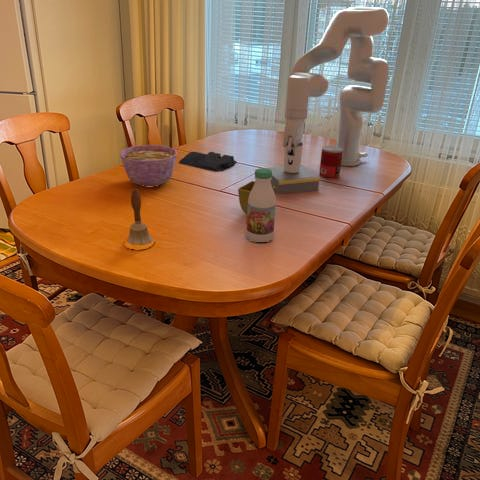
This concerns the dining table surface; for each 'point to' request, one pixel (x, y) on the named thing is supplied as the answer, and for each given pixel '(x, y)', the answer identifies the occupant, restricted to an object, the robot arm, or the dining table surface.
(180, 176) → the dining table surface
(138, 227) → the hand bell
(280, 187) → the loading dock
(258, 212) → the milk bottle
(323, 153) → the canned food
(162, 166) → the bowl of food
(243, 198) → the flower pot
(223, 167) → the dark slate chunk
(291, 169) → the white cup
